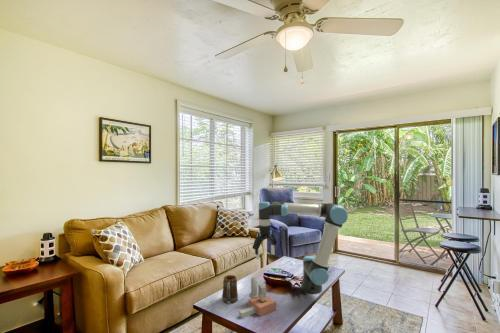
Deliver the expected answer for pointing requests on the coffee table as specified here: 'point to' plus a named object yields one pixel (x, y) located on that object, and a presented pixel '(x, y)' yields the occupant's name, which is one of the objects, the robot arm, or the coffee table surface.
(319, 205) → the robot arm
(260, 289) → the wedge pin
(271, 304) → the square hole peg fixture
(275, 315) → the coffee table surface
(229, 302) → the mug
